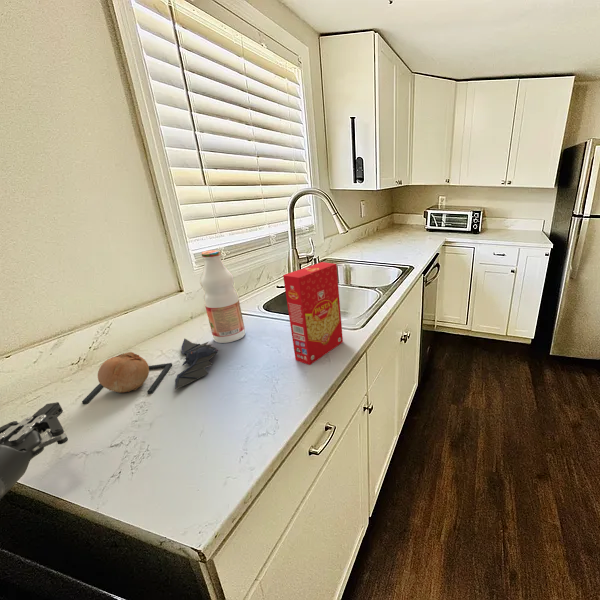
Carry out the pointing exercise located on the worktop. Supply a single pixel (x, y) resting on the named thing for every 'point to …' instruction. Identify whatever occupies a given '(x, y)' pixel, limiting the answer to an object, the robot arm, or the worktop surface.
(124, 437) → the worktop surface
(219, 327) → the fruit juice
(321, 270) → the food packaging
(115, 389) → the onion
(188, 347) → the decorative bat
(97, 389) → the frame
